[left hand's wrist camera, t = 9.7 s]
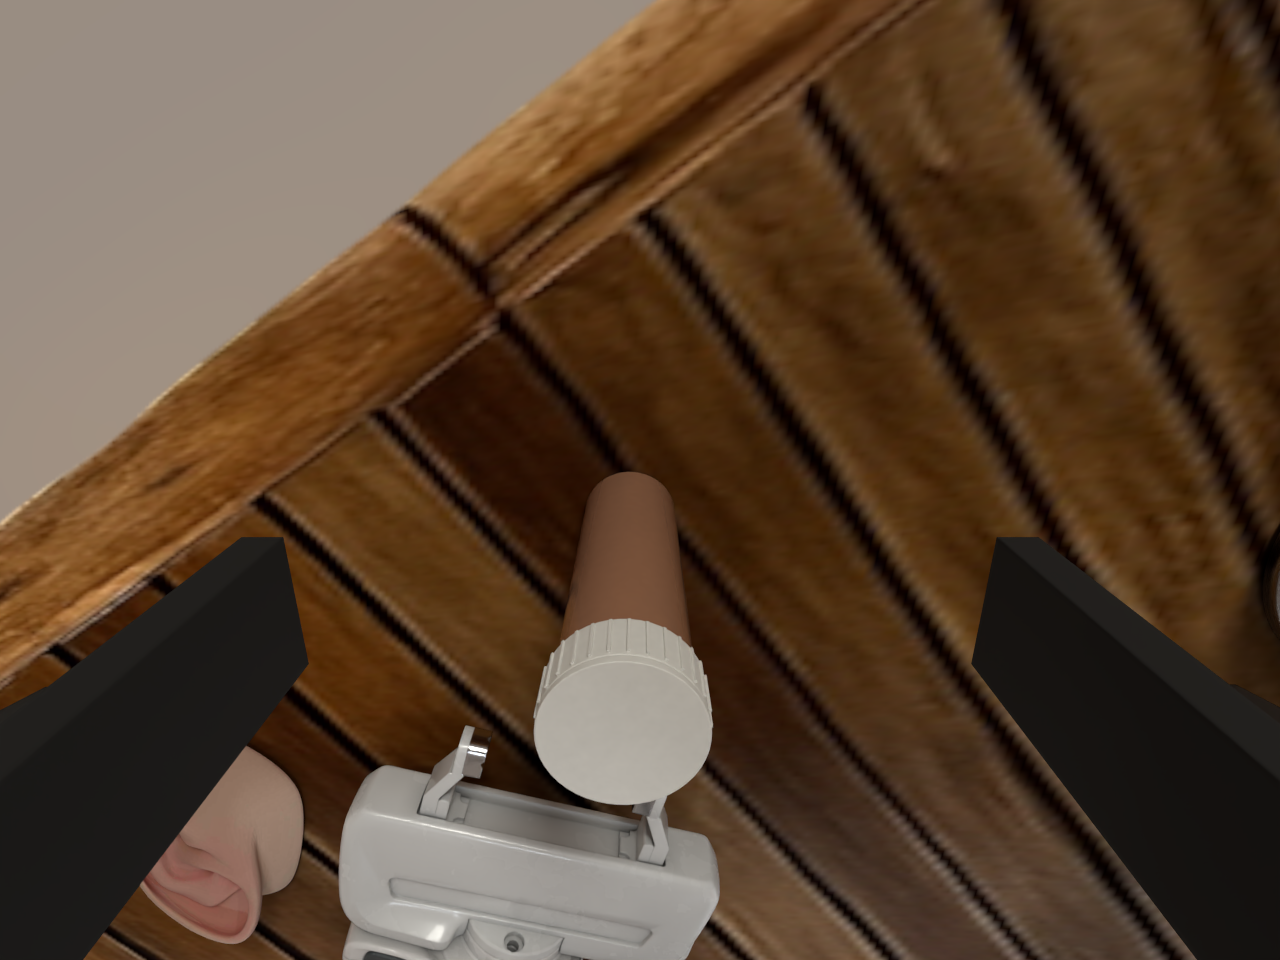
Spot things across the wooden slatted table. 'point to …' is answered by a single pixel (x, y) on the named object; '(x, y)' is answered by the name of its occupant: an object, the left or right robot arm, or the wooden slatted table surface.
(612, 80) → the wooden slatted table surface
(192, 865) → the anatomical model
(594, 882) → the right robot arm
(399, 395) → the wooden slatted table surface
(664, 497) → the brown bottle
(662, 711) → the lid
